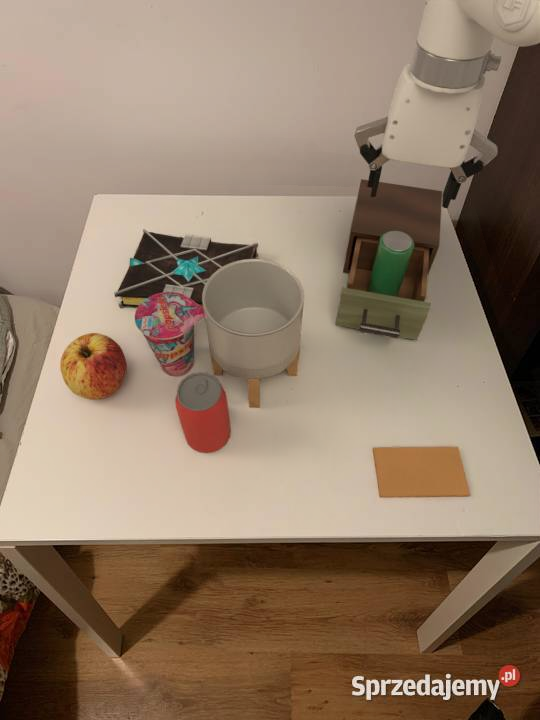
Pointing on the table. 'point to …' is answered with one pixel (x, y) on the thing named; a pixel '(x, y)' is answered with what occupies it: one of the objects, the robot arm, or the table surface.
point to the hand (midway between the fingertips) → (409, 196)
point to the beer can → (203, 412)
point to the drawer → (385, 296)
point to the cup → (170, 329)
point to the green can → (391, 263)
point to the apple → (93, 366)
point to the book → (176, 266)
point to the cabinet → (396, 216)
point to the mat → (420, 472)
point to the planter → (253, 321)
